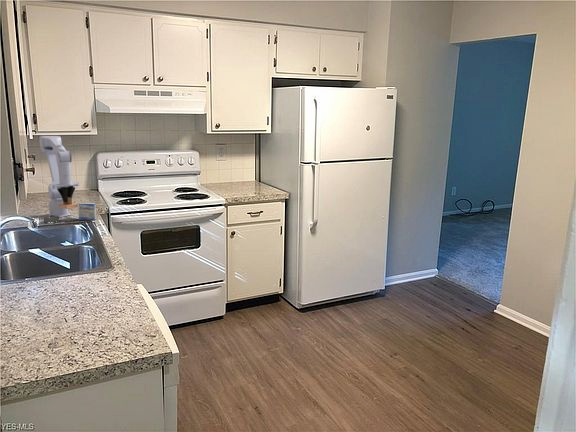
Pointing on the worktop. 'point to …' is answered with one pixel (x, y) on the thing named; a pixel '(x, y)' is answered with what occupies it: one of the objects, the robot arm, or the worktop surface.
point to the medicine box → (87, 211)
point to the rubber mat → (69, 219)
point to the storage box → (51, 218)
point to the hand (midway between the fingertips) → (67, 201)
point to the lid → (67, 204)
